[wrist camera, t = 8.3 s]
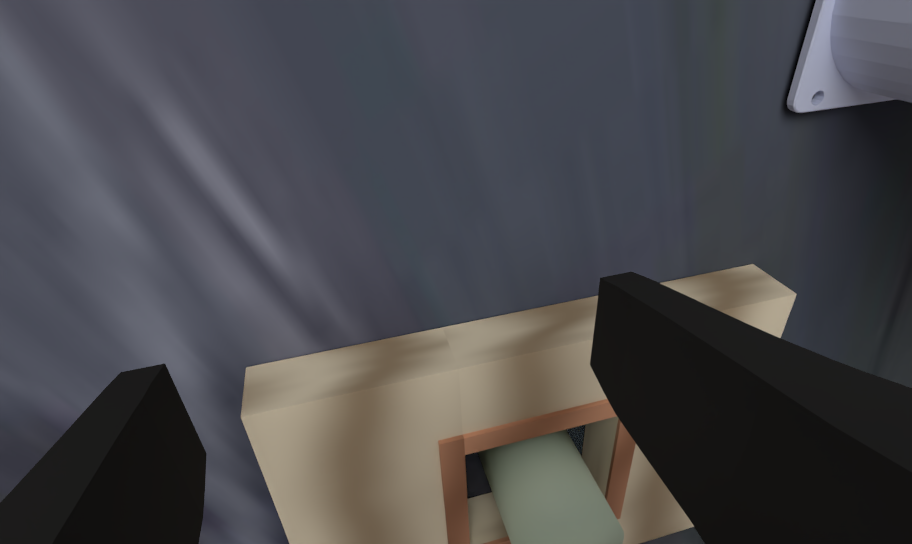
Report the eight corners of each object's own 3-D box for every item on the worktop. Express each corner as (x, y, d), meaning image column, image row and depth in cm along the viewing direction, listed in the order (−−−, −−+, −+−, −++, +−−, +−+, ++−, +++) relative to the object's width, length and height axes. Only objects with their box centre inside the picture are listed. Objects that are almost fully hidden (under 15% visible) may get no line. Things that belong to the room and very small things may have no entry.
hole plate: (752, 264, 24) (800, 296, 21) (685, 484, 32) (714, 524, 30) (245, 367, 19) (240, 421, 17) (324, 589, 28) (327, 644, 26)
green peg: (543, 391, 24) (607, 503, 20) (572, 439, 27) (635, 549, 22) (462, 437, 25) (505, 560, 20) (498, 481, 27) (545, 599, 22)
